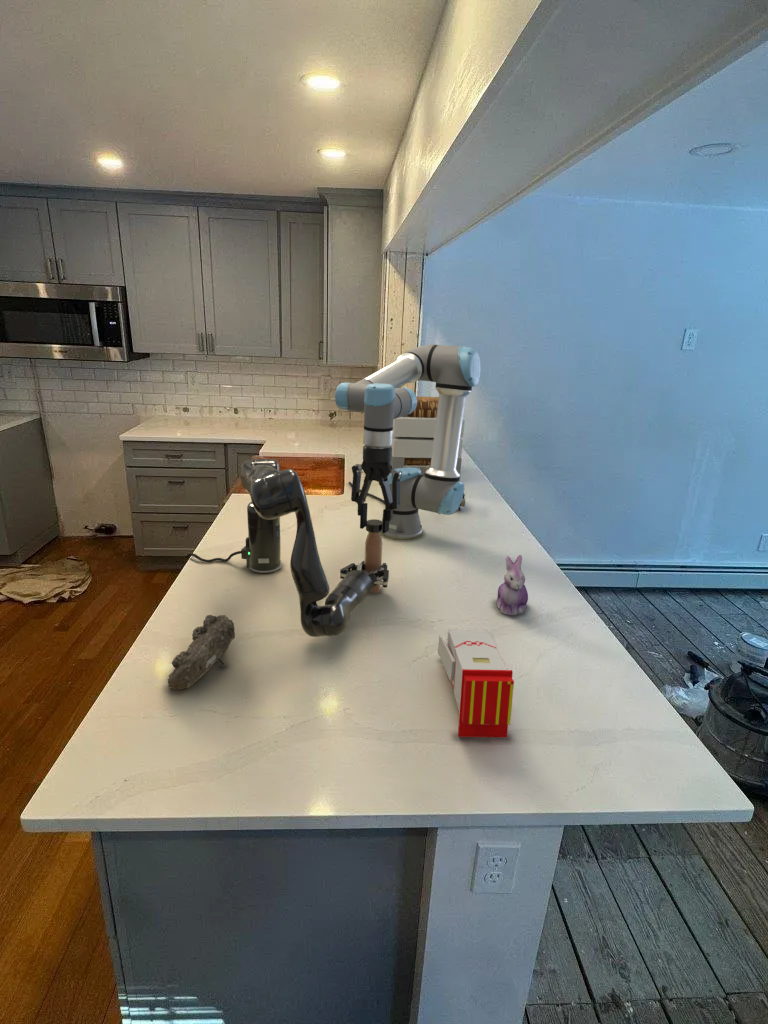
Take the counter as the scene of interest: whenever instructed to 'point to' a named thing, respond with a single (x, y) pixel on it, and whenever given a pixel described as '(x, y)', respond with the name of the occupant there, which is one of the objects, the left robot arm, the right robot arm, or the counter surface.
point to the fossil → (202, 651)
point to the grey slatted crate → (418, 436)
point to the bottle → (373, 555)
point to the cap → (374, 526)
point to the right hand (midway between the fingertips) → (374, 529)
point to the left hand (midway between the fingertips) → (376, 564)
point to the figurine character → (462, 502)
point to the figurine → (512, 589)
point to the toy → (478, 682)
